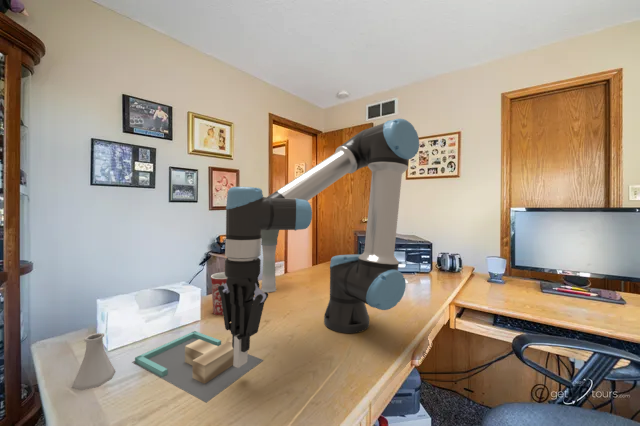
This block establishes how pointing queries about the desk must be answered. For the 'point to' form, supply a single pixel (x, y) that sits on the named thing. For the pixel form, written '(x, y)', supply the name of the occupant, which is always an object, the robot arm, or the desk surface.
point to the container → (269, 259)
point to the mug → (217, 292)
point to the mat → (190, 367)
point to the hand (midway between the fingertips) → (240, 363)
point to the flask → (94, 365)
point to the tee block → (208, 359)
